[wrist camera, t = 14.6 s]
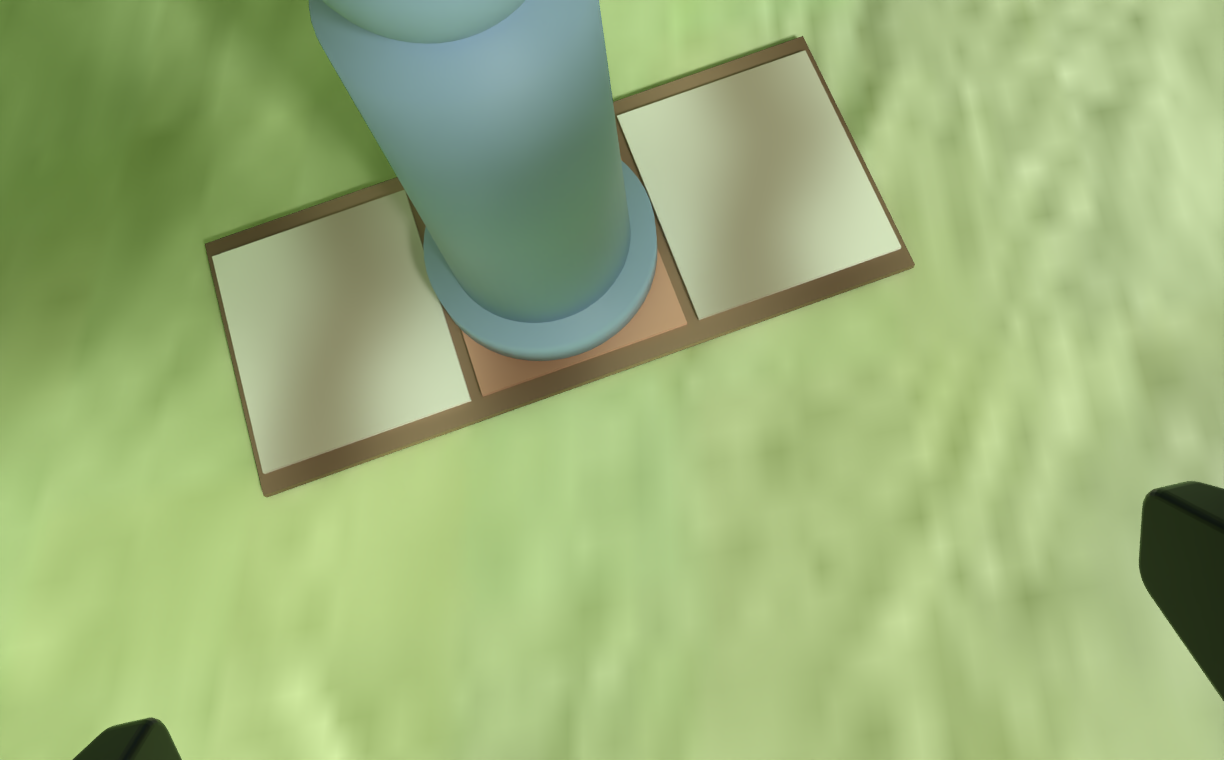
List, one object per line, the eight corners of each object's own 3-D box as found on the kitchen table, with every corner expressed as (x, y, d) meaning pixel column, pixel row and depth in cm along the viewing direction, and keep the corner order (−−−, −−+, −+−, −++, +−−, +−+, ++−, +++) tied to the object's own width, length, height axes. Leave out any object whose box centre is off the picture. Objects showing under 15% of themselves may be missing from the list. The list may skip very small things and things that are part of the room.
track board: (267, 497, 24) (261, 494, 23) (208, 247, 26) (202, 242, 25) (912, 268, 24) (915, 262, 24) (801, 40, 26) (803, 33, 26)
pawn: (504, 404, 23) (262, 41, 10) (394, 227, 25) (66, -279, 12) (701, 282, 24) (710, -211, 11) (581, 116, 26) (462, -485, 13)
